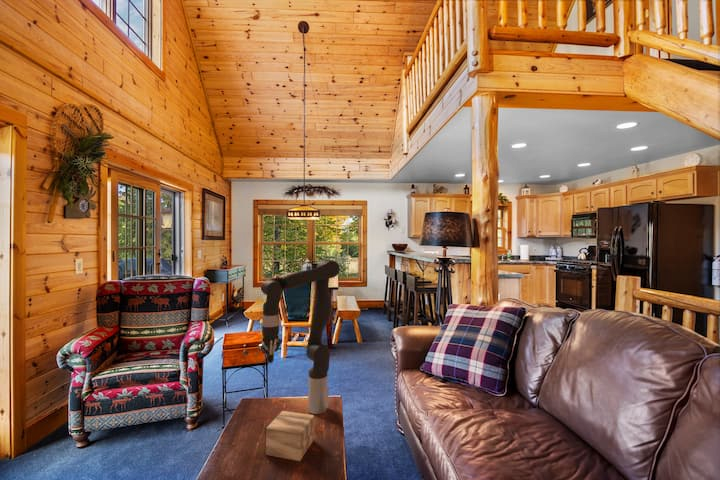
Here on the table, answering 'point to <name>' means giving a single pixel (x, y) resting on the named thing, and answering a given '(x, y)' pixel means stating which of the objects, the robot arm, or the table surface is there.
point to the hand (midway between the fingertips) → (270, 362)
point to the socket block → (289, 435)
